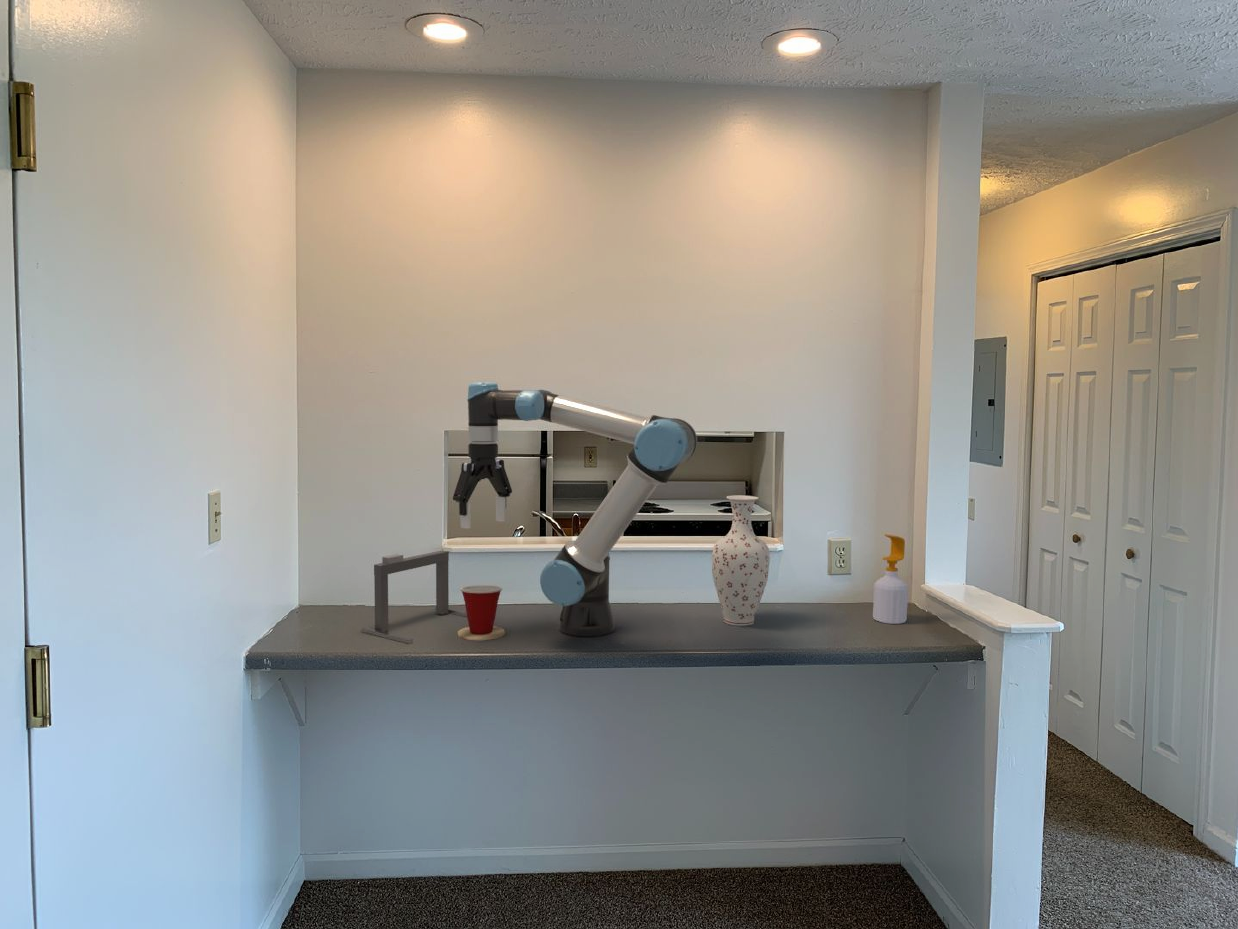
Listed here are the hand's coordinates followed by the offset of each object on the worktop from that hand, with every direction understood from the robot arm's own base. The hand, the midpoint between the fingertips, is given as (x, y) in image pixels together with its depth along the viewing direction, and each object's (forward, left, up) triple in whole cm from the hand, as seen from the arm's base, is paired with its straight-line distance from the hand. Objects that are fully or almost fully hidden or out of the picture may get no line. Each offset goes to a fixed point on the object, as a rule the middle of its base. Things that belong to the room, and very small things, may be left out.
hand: (483, 524), depth 222 cm
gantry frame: (+22, +4, -29) cm, 36 cm away
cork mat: (0, +1, -29) cm, 29 cm away
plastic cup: (0, +1, -28) cm, 28 cm away
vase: (-49, -50, -29) cm, 76 cm away
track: (+18, +4, -29) cm, 34 cm away
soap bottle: (-83, -77, -29) cm, 117 cm away
